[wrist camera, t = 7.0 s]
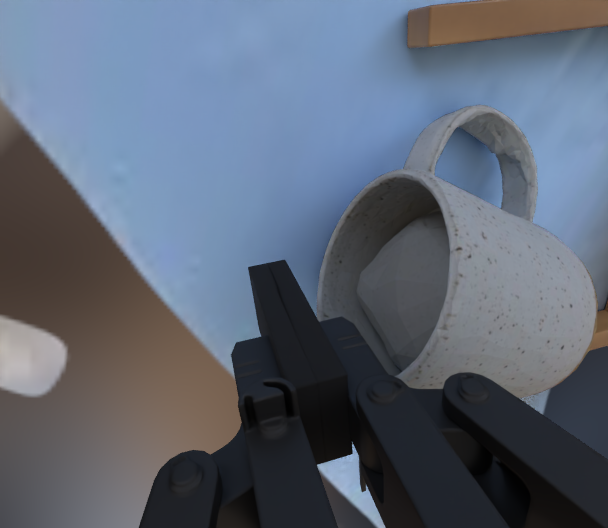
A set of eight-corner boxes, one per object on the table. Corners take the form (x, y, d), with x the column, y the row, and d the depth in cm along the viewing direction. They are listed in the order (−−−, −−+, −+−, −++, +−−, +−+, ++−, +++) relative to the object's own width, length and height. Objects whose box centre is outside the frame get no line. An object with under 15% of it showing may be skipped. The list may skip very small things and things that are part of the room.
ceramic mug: (437, 337, 22) (554, 455, 15) (297, 311, 19) (368, 447, 12) (541, 141, 19) (750, 182, 12) (394, 69, 15) (567, 69, 9)
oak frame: (407, 10, 15) (430, 5, 13) (720, -21, 17) (767, -28, 16) (401, 379, 23) (415, 400, 21) (615, 321, 25) (641, 336, 24)
